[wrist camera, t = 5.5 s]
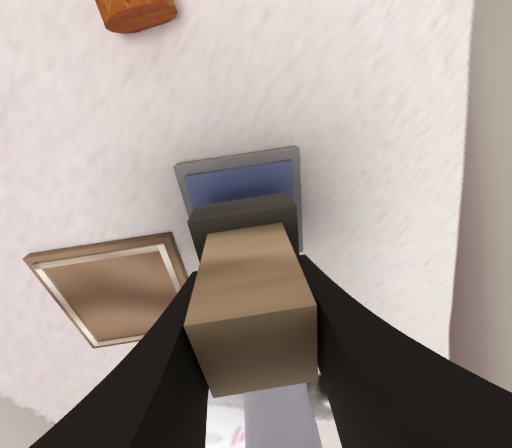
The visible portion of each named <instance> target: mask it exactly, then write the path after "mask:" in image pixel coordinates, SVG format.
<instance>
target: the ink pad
mask: <svg viewBox="0 0 512 448" xmlns="http://www.w3.org/2000/svg"><path fill="white" fill-rule="evenodd" d="M174 170H175V174H176V177H177V180H178V183H179V187H180V190H181V193H182V196H183V200H184V203H185V206H186V209H187V213H188V216H189V218H190V215H191V213H192V211H193V209H194V207H195V206H198V205H205V204H211V203H218V202H225V201H231V200H238V199H244V198H251V197H257V196H264V195H271V194H277V193H284V192H288V193H289V195H290V196H291V198H292V199H293V200H294V202H295V203H296V205H297V219H298V238H299V252H303V241H302V213H301V184H300V156H299V148H298V147H297V146H291V147H284V148H278V149H271V150H264V151H258V152H251V153H244V154H238V155H231V156H225V157H218V158H211V159H205V160H198V161H191V162H185V163H178V164H176V165H175V166H174Z"/></svg>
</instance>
